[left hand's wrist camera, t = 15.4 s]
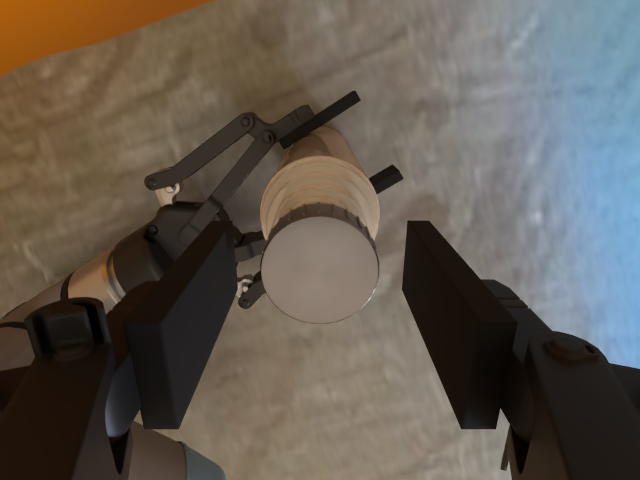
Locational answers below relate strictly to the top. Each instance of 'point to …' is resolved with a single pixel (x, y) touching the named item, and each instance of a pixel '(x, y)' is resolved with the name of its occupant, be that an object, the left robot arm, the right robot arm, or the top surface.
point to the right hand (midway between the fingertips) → (377, 134)
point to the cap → (319, 264)
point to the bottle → (320, 181)
